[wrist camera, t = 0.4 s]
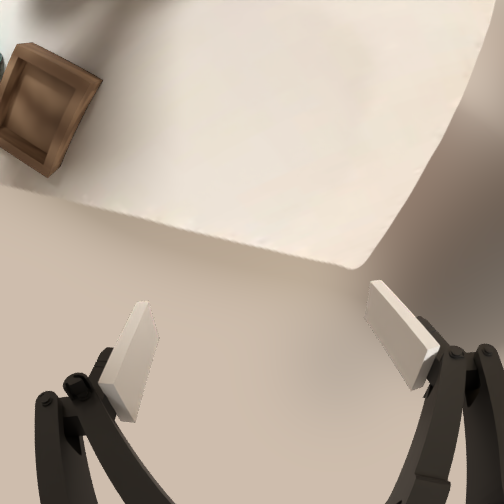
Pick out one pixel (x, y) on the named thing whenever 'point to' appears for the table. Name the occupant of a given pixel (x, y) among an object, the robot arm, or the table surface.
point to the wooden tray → (42, 106)
